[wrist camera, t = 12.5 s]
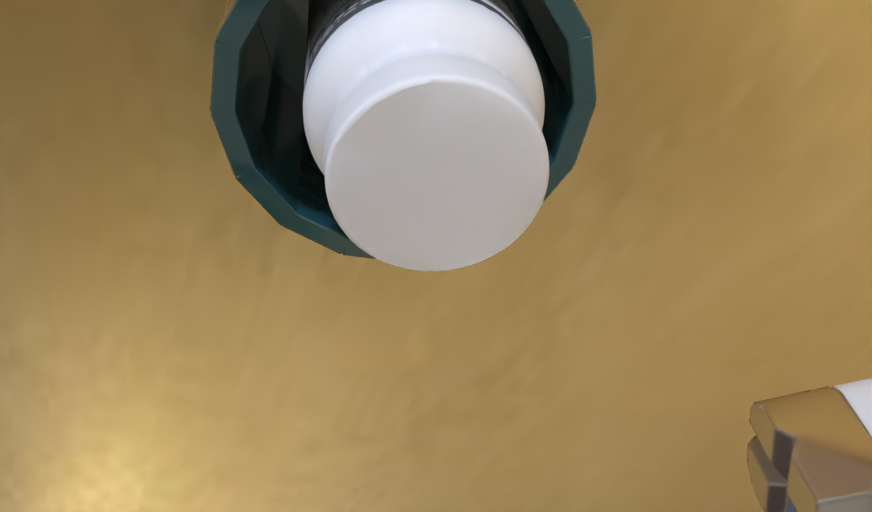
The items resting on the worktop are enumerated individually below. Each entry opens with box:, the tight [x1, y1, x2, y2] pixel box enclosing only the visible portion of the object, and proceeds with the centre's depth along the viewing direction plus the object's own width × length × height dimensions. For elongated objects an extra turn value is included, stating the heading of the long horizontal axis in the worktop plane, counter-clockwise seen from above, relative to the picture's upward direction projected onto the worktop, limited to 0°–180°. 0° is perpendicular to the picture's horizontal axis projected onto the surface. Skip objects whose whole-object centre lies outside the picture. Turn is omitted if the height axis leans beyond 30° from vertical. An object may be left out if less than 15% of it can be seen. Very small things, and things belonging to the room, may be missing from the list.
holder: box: [210, 0, 596, 259], centre depth 23 cm, size 9×9×7 cm
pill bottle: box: [303, 0, 549, 272], centre depth 21 cm, size 6×6×10 cm
